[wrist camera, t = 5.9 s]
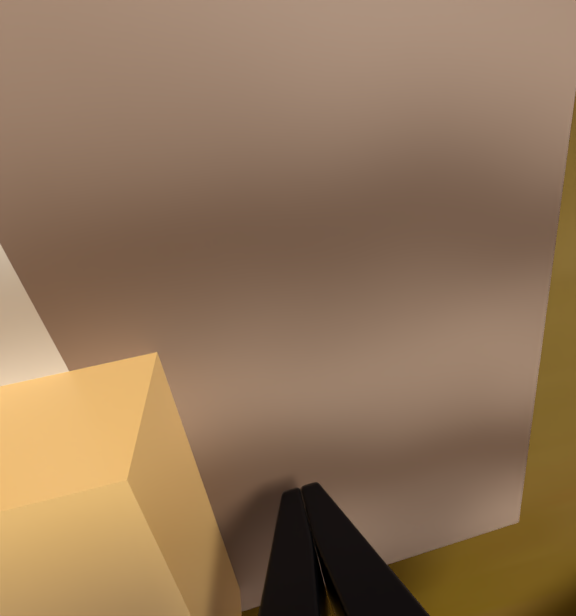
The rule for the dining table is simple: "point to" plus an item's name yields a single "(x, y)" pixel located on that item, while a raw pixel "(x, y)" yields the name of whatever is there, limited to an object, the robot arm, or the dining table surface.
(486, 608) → the dining table surface
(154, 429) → the light orange rectangular block
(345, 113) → the board
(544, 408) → the dining table surface
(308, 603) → the robot arm
